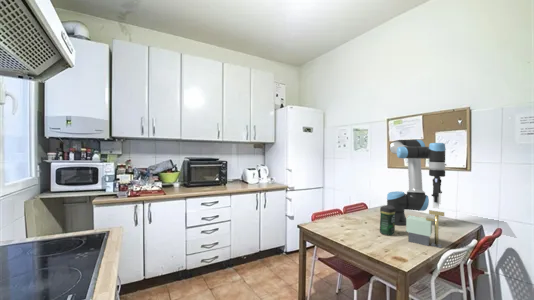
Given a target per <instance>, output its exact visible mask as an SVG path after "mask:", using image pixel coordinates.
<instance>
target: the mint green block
mask: <svg viewBox="0 0 534 300" xmlns="http://www.w3.org/2000/svg"><path fill="white" fill-rule="evenodd" d="M426 218H427V217H421V216H414V215H409V214H408V215H407V217H406V225H405V229H406V231H405V232H406V233H408V232H410V233H415V234H420V235H425V236H430V237H432V233H433V221H429V220H426Z"/></svg>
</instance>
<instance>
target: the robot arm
mask: <svg viewBox="0 0 534 300" xmlns="http://www.w3.org/2000/svg"><path fill="white" fill-rule="evenodd" d="M446 150H447V149H446V143H443V142H430V143H429V145H428V146H426V144H425V142H424V141H423V140H422V139H397V140H394V141H392V142H391V143H390V145H389V152H391V153H392V154H394V155H396V157H397V158H398V159H407V171H408V173H407V175H408V190H407V191H406V193H405V192H404V191H399V190H398V191H390V192H388V193H387V195H386V205H391V206H394V207H395V226H406V218H407V217H406V214H405V210H407V211H408V210H409V211H418V212H419V211H420V212H424V211H426V210H428V208H429V204H430V201H429V199H430V198H429V196H428V195H427V194H426V192H425V191H424V190H423V173H422V159H423V160H424V159H425V160H426V159H427V160H428V169H429V171H428V175H429V176H430V177H433V178H432V186H433V187H432V194H431V197H432V208H433V209H440V205H441V204H442V203H441V201H442V200H441V198H442V197H441V196H442V193H443V191H442V190H441V187H442V179H441V178H442V177H446V170H445V169H446V166H447V163H446Z"/></svg>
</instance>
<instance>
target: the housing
mask: <svg viewBox="0 0 534 300" xmlns="http://www.w3.org/2000/svg"><path fill="white" fill-rule="evenodd" d="M407 233H408V234H407V235H408V236H407V237H408V238H407V239H408V242H409V243H414V244H418V245H422V246H427V247H429V245H430V243H431V245H430V247H434V248H438V249H442V244H440V243H438V245H436V244H435V242H431V241H430V240H431V238H430V236H425V235H420V234H415V233H410V232H407Z"/></svg>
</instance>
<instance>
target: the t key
mask: <svg viewBox="0 0 534 300" xmlns="http://www.w3.org/2000/svg"><path fill="white" fill-rule="evenodd" d="M428 214H429V215H431V216H432V215H433V216H434V218H430V217H425V218H426V220H429V221H432V222H434V243H435V244H436V245H438V244H439V227H440V226H439V218H440V217H445V211H438V210H431V209H429V211H428Z"/></svg>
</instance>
